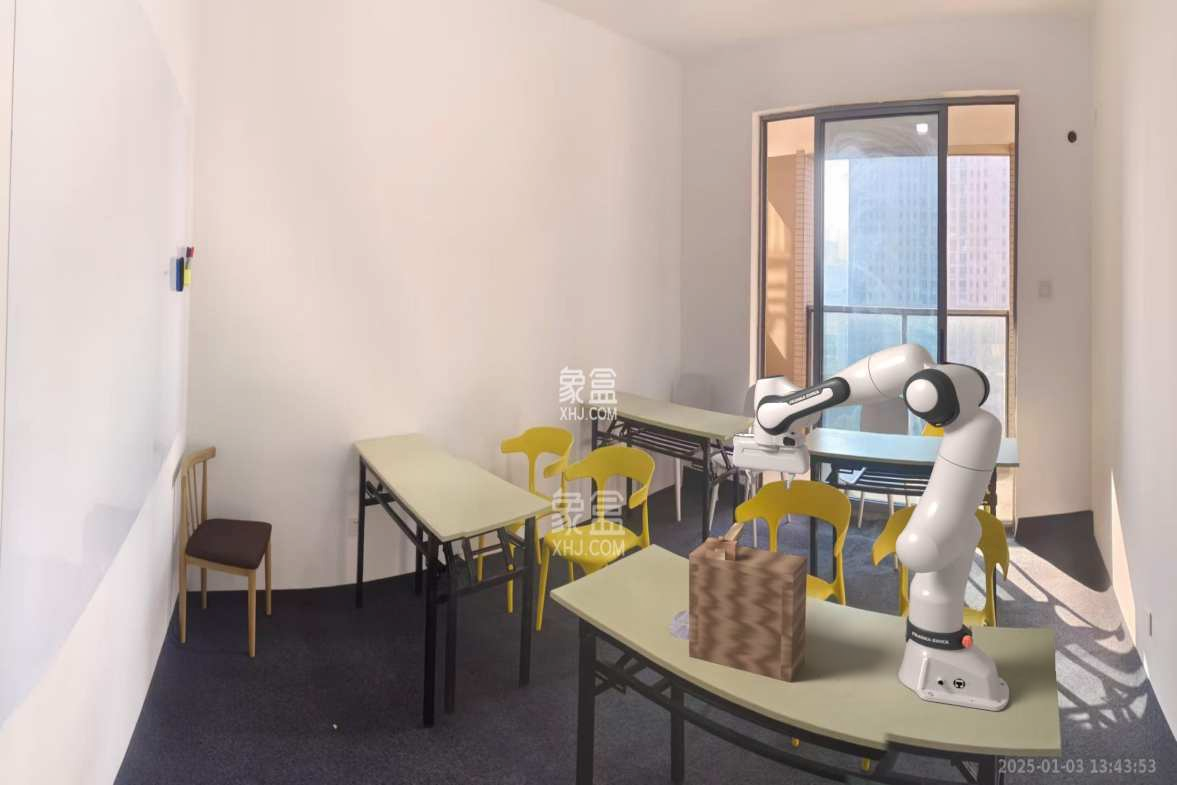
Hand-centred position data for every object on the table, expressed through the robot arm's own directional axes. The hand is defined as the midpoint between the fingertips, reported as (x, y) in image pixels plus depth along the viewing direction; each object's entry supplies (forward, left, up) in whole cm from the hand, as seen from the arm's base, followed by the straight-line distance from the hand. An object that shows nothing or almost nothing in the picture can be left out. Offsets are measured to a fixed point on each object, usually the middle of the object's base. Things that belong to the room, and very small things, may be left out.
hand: (769, 486), depth 208 cm
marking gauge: (+2, +24, -9) cm, 25 cm away
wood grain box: (-4, +28, -35) cm, 45 cm away
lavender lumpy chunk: (+14, +21, -36) cm, 44 cm away
